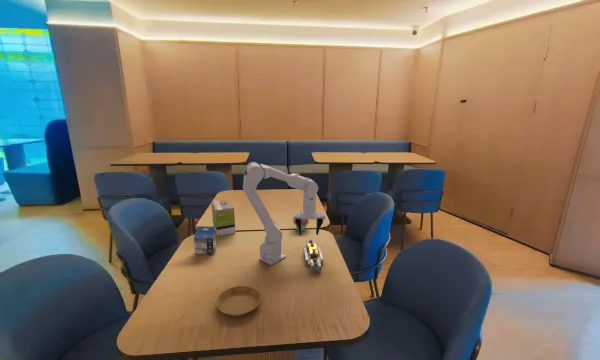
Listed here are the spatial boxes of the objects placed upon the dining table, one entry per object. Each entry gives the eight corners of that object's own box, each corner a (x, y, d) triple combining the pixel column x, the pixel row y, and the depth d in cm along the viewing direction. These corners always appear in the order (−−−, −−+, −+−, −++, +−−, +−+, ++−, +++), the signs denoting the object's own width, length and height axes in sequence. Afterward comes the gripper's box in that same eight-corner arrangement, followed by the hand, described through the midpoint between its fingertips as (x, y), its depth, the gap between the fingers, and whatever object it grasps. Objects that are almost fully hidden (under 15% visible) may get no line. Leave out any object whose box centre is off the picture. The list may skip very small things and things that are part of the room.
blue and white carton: (194, 254, 128) (192, 229, 125) (198, 250, 132) (195, 226, 129) (214, 255, 128) (212, 230, 125) (216, 250, 132) (215, 226, 128)
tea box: (212, 225, 159) (210, 201, 156) (230, 223, 163) (229, 198, 160) (216, 236, 146) (215, 209, 142) (236, 233, 150) (234, 207, 147)
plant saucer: (242, 286, 106) (242, 280, 105) (269, 303, 97) (269, 297, 96) (207, 307, 95) (207, 300, 94) (235, 328, 86) (234, 321, 85)
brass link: (318, 261, 122) (318, 251, 121) (310, 261, 122) (310, 251, 121) (315, 251, 131) (315, 241, 130) (308, 251, 131) (308, 241, 129)
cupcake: (308, 232, 152) (308, 211, 149) (292, 232, 152) (293, 211, 149) (308, 226, 160) (308, 206, 157) (293, 225, 161) (293, 205, 158)
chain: (325, 272, 115) (325, 264, 114) (307, 273, 115) (307, 265, 114) (317, 245, 137) (318, 239, 136) (302, 246, 137) (302, 239, 136)
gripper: (324, 203, 129) (323, 230, 133) (292, 203, 129) (292, 230, 132) (326, 208, 123) (325, 236, 126) (293, 208, 122) (293, 237, 125)
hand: (308, 234), depth 129 cm, fingers open, 7 cm apart
